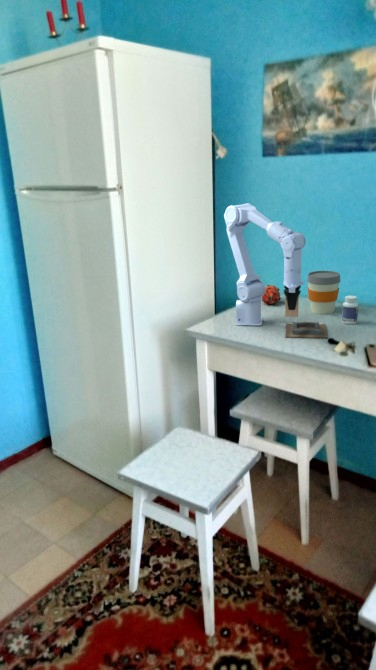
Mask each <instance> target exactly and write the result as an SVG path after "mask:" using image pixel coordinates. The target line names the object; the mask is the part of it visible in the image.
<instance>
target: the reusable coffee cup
mask: <svg viewBox="0 0 376 670" xmlns="http://www.w3.org/2000/svg"><path fill="white" fill-rule="evenodd" d="M306 281H307V284H308V285H307V294H308V295H307V296H308V300H309V305H310V306H309V307H310V312H312V313H313V314H317V315H330V314H333V313H334V311H335V308H336V302H337V301H338V298H339V292H340V287H339V286H340V283H341V274H340V272H337V271H334V270H314V271H311V272H308V273H307V279H306Z"/></svg>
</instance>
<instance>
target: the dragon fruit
mask: <svg viewBox="0 0 376 670" xmlns="http://www.w3.org/2000/svg"><path fill="white" fill-rule="evenodd" d="M281 299H282V297H281V293H280V287H276V285H274V284H272V285H270V284H267V285H265V293H264V295H263V296H262V299H261V302H263V303H264V304H265V305H266V306H269V305H271V304H272V305H273V304H277V303H278V302H279V301H281Z"/></svg>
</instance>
